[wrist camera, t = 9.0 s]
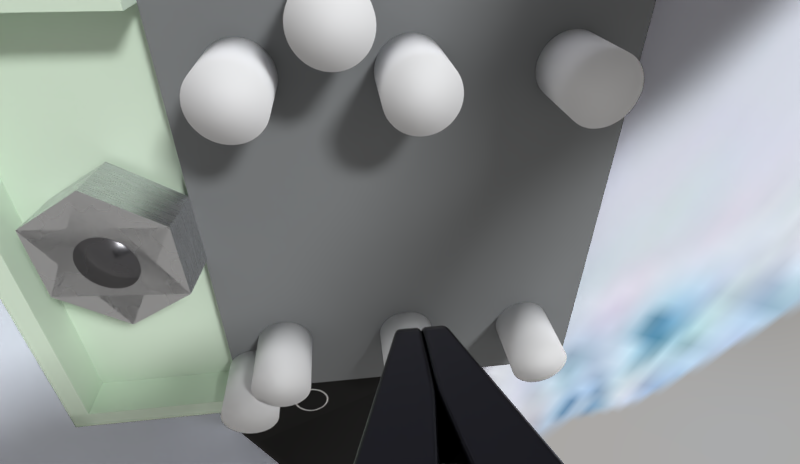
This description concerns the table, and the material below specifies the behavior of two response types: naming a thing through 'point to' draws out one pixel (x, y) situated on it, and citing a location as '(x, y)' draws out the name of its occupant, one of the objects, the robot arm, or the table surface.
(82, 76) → the spacer field
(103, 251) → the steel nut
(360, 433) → the cell phone
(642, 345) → the table surface
